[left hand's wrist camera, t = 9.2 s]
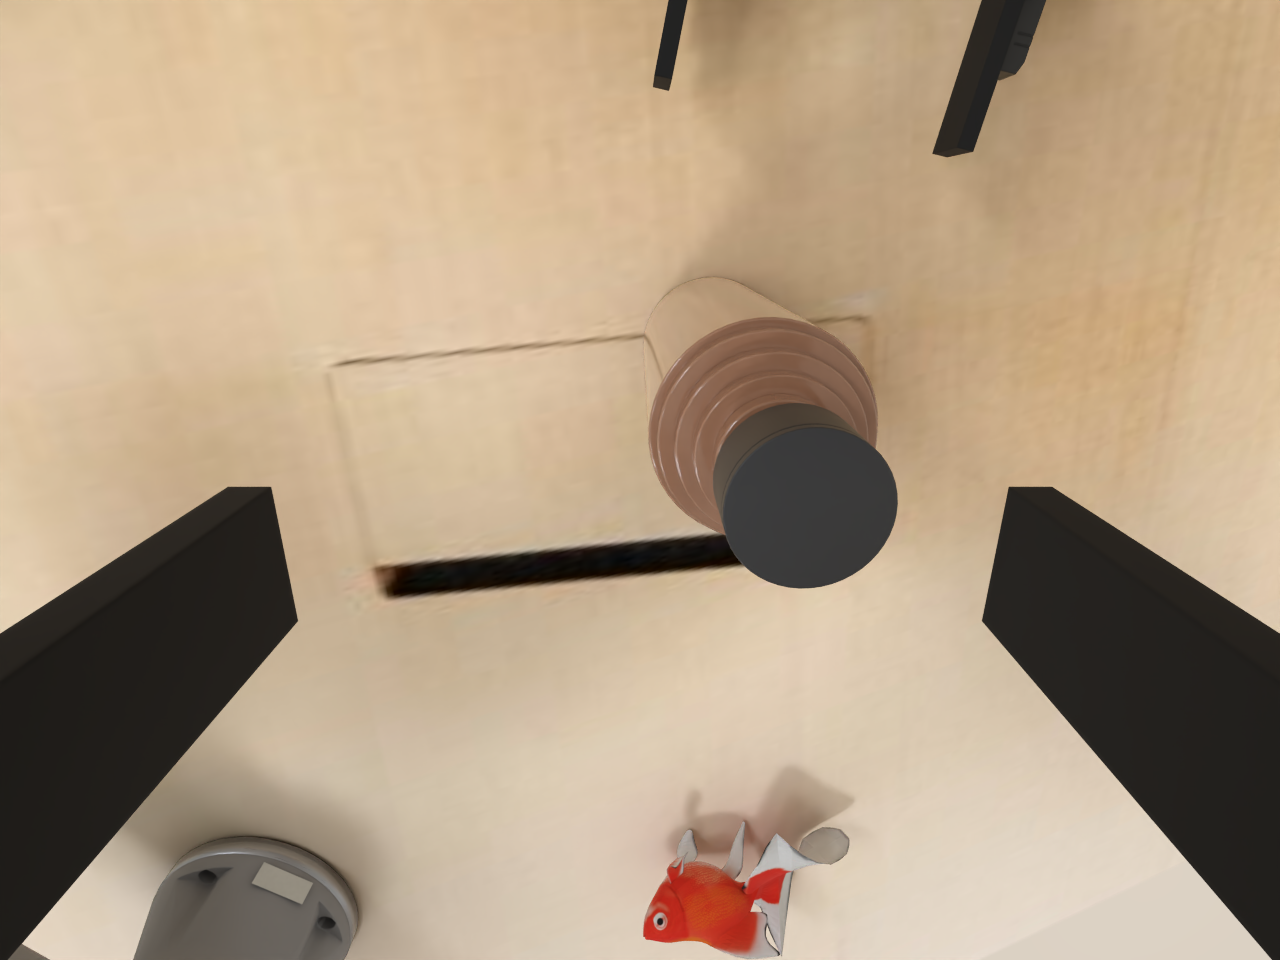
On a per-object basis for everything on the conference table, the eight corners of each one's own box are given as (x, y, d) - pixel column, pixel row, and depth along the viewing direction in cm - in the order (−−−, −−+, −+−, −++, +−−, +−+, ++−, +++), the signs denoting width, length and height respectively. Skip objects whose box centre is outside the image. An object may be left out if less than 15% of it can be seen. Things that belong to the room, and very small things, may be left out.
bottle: (785, 395, 42) (970, 607, 19) (658, 422, 42) (685, 662, 19) (764, 262, 39) (951, 318, 16) (630, 294, 40) (621, 390, 16)
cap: (874, 530, 20) (905, 570, 18) (726, 560, 20) (738, 603, 18) (857, 386, 19) (888, 409, 16) (699, 421, 19) (708, 448, 17)
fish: (629, 817, 47) (698, 979, 40) (814, 742, 53) (901, 872, 46) (613, 882, 54) (670, 1030, 47) (779, 809, 60) (850, 931, 53)
